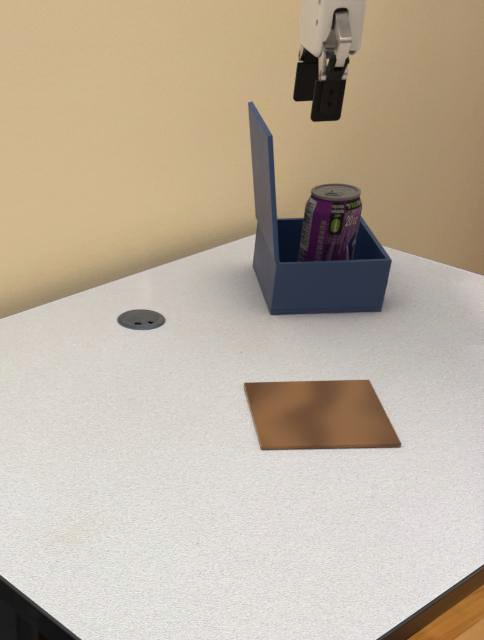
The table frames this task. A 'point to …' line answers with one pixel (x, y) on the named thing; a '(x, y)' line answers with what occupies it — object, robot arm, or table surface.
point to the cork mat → (319, 415)
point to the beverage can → (330, 223)
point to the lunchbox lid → (264, 179)
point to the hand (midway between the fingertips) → (315, 110)
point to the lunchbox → (321, 274)
